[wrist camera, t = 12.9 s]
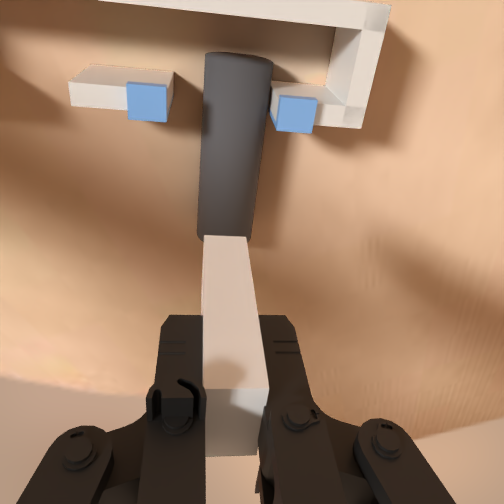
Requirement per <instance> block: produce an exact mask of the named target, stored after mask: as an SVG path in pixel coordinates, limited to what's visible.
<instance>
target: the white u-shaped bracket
mask: <svg viewBox="0 0 504 504" xmlns="http://www.w3.org/2000/svg"><path fill="white" fill-rule="evenodd" d="M100 1H109V2H118V3H127V4H136V5H145V6H154V7H163V8H172V9H181V10H190V11H199V12H208V13H217V14H226V15H235V16H244V17H253V18H262V19H271V20H280V21H289V22H298V23H307V24H316V25H325V26H334V27H336V31H335V36H334V41H333V47H332V52H331V57H330V63H329V68H328V73H327V78H326V84H325V85H314V84H304V83H293V82H282V81H271V85H270V93H269V101H268V108H267V109H268V112H269V114H270V116H271V119H272V121H273V123H274V126H275V128H276V131H286V132H299V133H312V129H313V125H318V126H331V127H344V128H356V129H361V127H362V123H363V119H364V115H365V111H366V107H367V103H368V99H369V95H370V91H371V87H372V83H373V79H374V75H375V71H376V66H377V62H378V58H379V54H380V50H381V46H382V42H383V38H384V34H385V30H386V26H387V22H388V18H389V14H390V10H391V6H392V5H388V4H383V3H378V2H373V1H368V0H100ZM68 85H69V93H70V100H71V106H78V107H91V108H104V109H116V110H128V119H129V120H142V121H155V122H167V119H168V115H169V112H170V108H171V104H172V101H173V97H174V72H173V71H162V70H151V69H140V68H130V67H119V66H108V65H97V64H90V65H89V66H88V67H86V68H85V69H84V70H83V71H81V72H80V73H79V74H78V75H76V76H75V77H74V78H73V79H71V80H70V81H69V82H68Z"/></svg>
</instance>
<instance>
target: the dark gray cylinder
mask: <svg viewBox="0 0 504 504" xmlns="http://www.w3.org/2000/svg"><path fill="white" fill-rule="evenodd" d="M272 70H273V62H272V61H271V60H269V59H266V58H262V57H258V56H254V55H247V54H238V53H229V52H211V53H207V54H205V71H204V92H203V114H202V135H201V156H200V177H199V198H198V219H197V235H198V237H199V238H200V240H202V241H203V242H204V235H213V236H239V237H246V239H247V242H248V241H249V240H250V238H251V231H252V223H253V215H254V208H255V200H256V192H257V185H258V177H259V169H260V162H261V154H262V147H263V139H264V131H265V124H266V116H267V108H268V101H269V93H270V85H271V78H272Z"/></svg>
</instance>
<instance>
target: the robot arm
mask: <svg viewBox="0 0 504 504" xmlns="http://www.w3.org/2000/svg"><path fill="white" fill-rule="evenodd" d="M146 411H147V412H146V413H145V414H144V415H143V416H142V417H141V418H140V419H138V420H137V421H135V422H134V423H132V424H130V425H127V426H125V427H122V428H119V429H116V430H113V431H110V432H105V431H104V430H103V429H100V428H98V427H95V426H79V427H76V428H72V429H70V430H68V431H67V432H65V433H64V434H62V435H60V436H59V437H58V438H57V439H56V440H55V441H54V443H53V444H52V445H51V446H50V447H49V449H48V451H47V452H46V454H45V456H44V457H43V459H42V461H41V463H40V464H39V466H38V468H37V469H36V471H35V473H34V474H33V476H32V478H31V479H30V481H29V483H28V485H27V486H26V488H25V490H24V491H23V493H22V495H21V496H20V498H19V500H18V502H17V503H16V504H206V499H205V498H206V497H205V496H206V493H205V492H206V485H205V483H206V481H205V479H206V475H205V457H214V456H245V455H257V449H259V458H260V466H259V471H258V476H257V481H256V488H255V493H259V492H260V502H261V504H456V503H455V502H454V500H453V498H452V497H451V496H450V494H449V493H448V491H447V490H446V488H445V487H444V485H443V484H442V482H441V481H440V480H439V478H438V477H437V475H436V474H435V472H434V471H433V469H432V468H431V467H430V465H429V464H428V462H427V461H426V459H425V458H424V456H423V455H422V454H421V452H420V451H419V449H418V448H417V446H416V445H415V443H414V442H413V440H412V439H411V437H410V436H409V435H408V434H407V433H406V432H405V431H404V430H403V428H401V427H400V426H398V425H397V424H395V423H393V422H392V421H388V420H385V419H381V418H379V419H370V420H368V421H366V422H365V423H363V424H362V426H361V427H358V426H355V425H351V424H348V423H344V422H341V421H338V420H336V419H333V418H331V417H329V416H328V415H326V414H325V413H323V412H322V411H321V410H320V408H319V407H318V406H317V405H316V404H315V402H314V401H313V398H312V395H311V392H310V388H309V384H308V380H307V376H306V372H305V368H304V364H303V360H302V356H301V354H300V348H299V344H298V340H297V336H296V332H295V328H294V326H293V325H292V324H291V322H290V321H289V320H288V319H287V317H286V316H285V315H258V311H257V304H256V298H255V291H254V285H253V278H252V272H251V265H250V259H249V252H248V246H247V239H246V237H239V236H213V235H204V248H203V269H202V291H201V315H169V317H168V318H167V319H166V321H165V322H164V324H163V325H162V327H161V333H160V341H159V349H158V357H157V366H156V374H155V382H154V384H153V385H152V386H151V387H150V389H149V391H148V394H147V396H146ZM258 447H259V448H258Z"/></svg>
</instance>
